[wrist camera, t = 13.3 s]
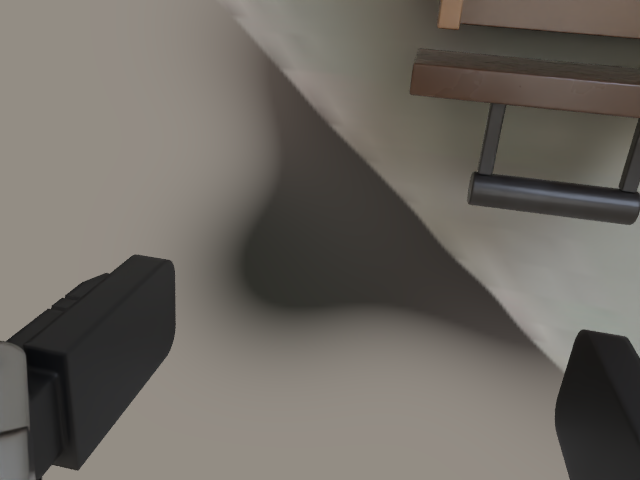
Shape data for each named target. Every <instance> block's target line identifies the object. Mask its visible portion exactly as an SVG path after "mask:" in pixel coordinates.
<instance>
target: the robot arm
mask: <svg viewBox="0 0 640 480" xmlns="http://www.w3.org/2000/svg"><path fill="white" fill-rule="evenodd" d="M175 325H176V323H175V270H174V265H173V263H172V262H171V261H170V260H166V259H160V258H154V257H148V256H142V255H133V256H131V257H130V258H129V259H127V260H126V261H125V262H124V263H123V264H122V265H120V266H119V267H118V268H116V269H115V270H114V271H113V272H112V273H110V274H108V273H105V274H102V275H100V276H97V277H95V278H92V279H90V280H87V281H85V282H82V283H81V284H79V285H78V286H77V287H76V288H74V289H73V290H72V291H70V292H69V293H68V294H67V295H65V298H61V299H60V300H59V301H57V302H56V303H55V304H54V305H52V308H51V309H47V310H46V311H44V312H43V313H42V314H41V315H39V316H38V317H37V318H35V319H34V320H33V321H32V322H30V323H29V324H28V325H26V326H25V327H24V328H22V329H21V330H20V331H19V332H17V333H16V334H15V335H13V336H12V337H11V338H10V339H8V340H7V341H6V342H4V341H0V480H42V476H43V475H44V473H45V472H46V471H47V470H48V469H49V467H50V466H51V465H56V466H60V467H64V468H69V469H74V470H79V469H80V467H81V466H82V465H83V464H84V462H85V461H86V460H87V458H88V457H89V456H90V455H91V453H92V452H93V451H94V449H95V448H96V447H97V446H98V444H99V443H100V442H101V440H102V439H103V438H104V436H105V435H106V434H107V433H108V431H109V430H110V429H111V427H112V426H113V425H114V424H115V422H116V421H117V420H118V419H119V417H120V416H121V415H122V413H123V412H124V411H125V410H126V408H127V407H128V406H129V404H130V403H131V402H132V400H133V399H134V398H135V397H136V395H137V394H138V393H139V391H140V390H141V389H142V388H143V386H144V385H145V383H146V382H147V381H148V380H149V379H150V377H151V376H152V375H153V373H154V372H155V371H156V369H157V368H158V367H159V366H160V364H161V363H162V362H163V360H164V359H165V358H166V356H167V355H168V353H169V351H170V349H171V346H172V344H173V340H174V335H175ZM555 427H556V432H557V436H558V440H559V443H560V446H561V450H562V453H563V457H564V460H565V464H566V467H567V471H568V474H569V478H570V480H640V358H639V356H638V354H637V353H636V351H635V349H634V348H633V346H632V344H631V343H630V341H629V339H628V338H627V337H625V336H620V335H614V334H608V333H602V332H596V331H590V330H581V331H580V332H579V333H578V335H577V337H576V339H575V342H574V345H573V348H572V352H571V355H570V358H569V361H568V365H567V368H566V371H565V374H564V378H563V381H562V385H561V387H560V391H559V394H558V397H557V402H556V408H555Z"/></svg>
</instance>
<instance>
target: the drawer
mask: <svg viewBox="0 0 640 480" xmlns="http://www.w3.org/2000/svg"><path fill="white" fill-rule="evenodd" d="M460 24H468V25H480V26H492V27H503V28H515V29H527V30H539V31H551V32H563V33H575V34H586V35H598V36H610V37H622V38H634V39H640V0H440V4H439V10H438V17H437V27H438V28H442V29H454V30H458V29H459V26H460ZM410 94H411V95H417V96H427V97H437V98H446V99H456V100H466V101H475V102H485V103H490V107H489V112H488V118H487V123H486V128H485V133H484V139H483V144H482V149H481V154H480V160H479V165H478V172H473V173H472V175H471V178H470V183H469V189H468V199H467V200H468V204H469V205H477V206H484V207H492V208H500V209H508V210H516V211H524V212H531V213H539V214H547V215H555V216H563V217H571V218H578V219H586V220H594V221H602V222H610V223H618V224H625V225H631V224H633V223H634V222H635V221H636V219H637V217H638V215H639V211H640V194H639V193H638V192H637V188H638V185H639V182H640V68H629V67H618V66H607V65H596V64H585V63H574V62H563V61H552V60H541V59H530V58H519V57H508V56H497V55H486V54H475V53H464V52H453V51H442V50H431V49H418V52H417V55H416V58H415V61H414V64H413V70H412V78H411V85H410ZM506 105H514V106H524V107H534V108H544V109H553V110H563V111H573V112H583V113H592V114H602V115H612V116H622V117H631V118H639V119H638V123H637V126H636V129H635V133H634V136H633V139H632V143H631V146H630V150H629V153H628V156H627V160H626V163H625V166H624V170H623V173H622V176H621V180H620V183H619V188H620V189H617V188H608V187H600V186H592V185H583V184H575V183H567V182H558V181H550V180H542V179H533V178H525V177H516V176H508V175H500V174H492V173H493V168H494V163H495V158H496V153H497V148H498V143H499V138H500V133H501V128H502V123H503V118H504V113H505V108H506Z"/></svg>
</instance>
